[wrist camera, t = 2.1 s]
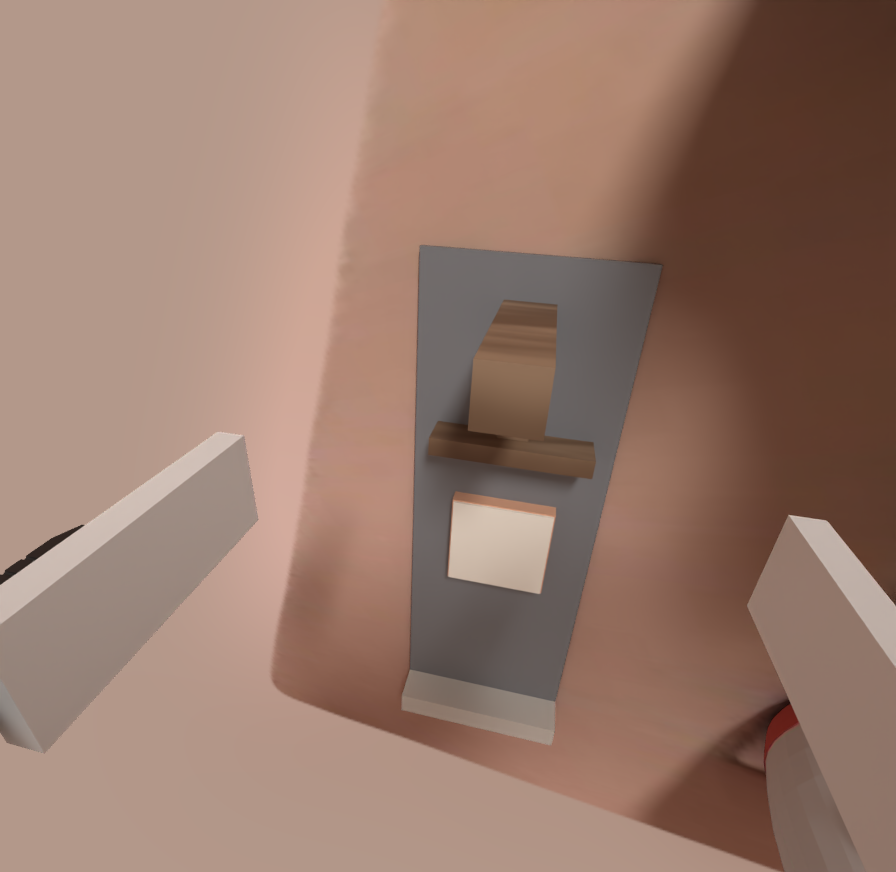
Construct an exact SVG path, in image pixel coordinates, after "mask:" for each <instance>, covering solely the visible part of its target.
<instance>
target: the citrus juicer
mask: <svg viewBox="0 0 896 872" xmlns="http://www.w3.org/2000/svg"><path fill="white" fill-rule="evenodd" d="M764 767H765V773H766V781H767V794H768V802H769V808H770V814H771V820H772V826H773V832H774V836H775V840H776V843H777V847H778V850H779V854H780V858H781V861H782V865H783V868H784V871H785V872H866V871H865V868H864V866H863V864H862V862H861V859H860V857H859V855H858V853H857V850H856V848H855V846H854V844H853V842H852V839H851V837H850V835H849V833H848V830H847V828H846V826H845V824H844V821H843V819H842V817H841V815H840V812H839V810H838V808H837V806H836V804H835V801H834V799H833V797H832V795H831V792H830V790H829V788H828V786H827V783H826V781H825V779H824V777H823V775H822V772H821V770H820V768H819V766H818V763H817V761H816V759H815V757H814V754H813V752H812V750H811V748H810V746H809V743H808V741H807V739H806V737H805V734H804V732H803V730H802V728H801V725H800V723H799V721H798V719H797V717H796V714H795V712H794V710H793V708H792V705H791V704H790V705H787V706H786V707H785V708H784V709H782V710H781V711H780V712H779V713H778V714H777V715H776V716H775V717H774V718H773V719H772V721H771V723H770V724H769V726H768V729H767V734H766V740H765V750H764Z"/></svg>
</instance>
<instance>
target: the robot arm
mask: <svg viewBox="0 0 896 872" xmlns="http://www.w3.org/2000/svg"><path fill="white" fill-rule="evenodd" d="M257 521H258V515H257V509H256V503H255V497H254V491H253V485H252V479H251V473H250V467H249V462H248V456H247V450H246V444H245V438H244V435H238V434H231V433H224V432H216V433H215V434H214V435H212V436H211V437H209V438H208V439H207V440H205V441H204V442H202V443H201V444H199V445H198V446H197V447H195V448H194V449H192V450H191V451H190V452H188V453H187V454H185V455H184V456H182V457H181V458H180V459H178V460H177V461H175V462H174V463H173V464H171V465H170V466H168V467H167V468H165V469H164V470H163V471H161V472H160V473H158V474H157V475H156V476H154V477H153V478H152V479H150V480H149V481H147V482H146V483H145V484H143V485H141V486H140V487H139V488H137V489H136V490H134V491H133V492H132V493H130V494H129V495H127V496H126V497H124V498H123V499H122V500H120V501H119V502H118V503H116V504H115V505H113V506H112V507H110V508H109V509H108V510H106V511H105V512H103V513H102V514H100V515H99V516H98V517H96V518H95V519H93V520H92V521H90V522H89V523H88V524H86V525H80V526H78V527H76V528H74V529H71V530H69V531H67V532H65V533H62V534H60V535H58V536H56V537H53V538H51V539H50V540H49V541H47V542H46V543H44V544H43V545H41V546H40V547H38V548H37V549H35V550H34V551H32V552H31V553H30V554H28V555H27V556H26V559H25V560H22V559H21V560H20V561H18V562H16V563H15V564H13V565H12V566H11V567H9V568H8V569H6V570H5V573H4V574H3V575H0V733H1V734H2V736H3V737H4V739H5V740H6V742H7V743H10V744H13V745H17V746H20V747H24V748H27V749H31V750H34V751H38V752H41V753H45V752H46V751H47V750H48V749H49V748H50V747H51V746H52V745H53V744H54V743H55V742H56V740H57V739H58V738H59V737H60V736H61V735H62V734H63V733H64V732H65V731H66V729H67V728H68V727H69V726H70V725H71V724H72V723H73V722H74V721H75V720H76V719H77V717H78V716H79V715H80V714H81V713H82V712H83V711H84V710H85V709H86V708H87V707H88V705H89V704H90V703H91V702H92V701H93V700H94V699H95V698H96V696H97V695H99V693H100V692H101V691H102V690H103V689H104V688H105V687H106V686H107V685H108V684H109V682H110V681H111V680H112V679H113V678H114V677H115V676H116V675H117V674H118V673H119V672H120V670H121V669H122V668H123V667H124V666H125V665H126V664H127V663H128V661H130V660H131V658H132V657H133V656H134V655H135V654H136V653H137V652H138V651H139V650H140V649H141V647H142V646H143V645H144V644H145V643H146V642H147V641H148V640H149V639H150V638H151V637H152V635H153V634H154V633H155V632H156V631H157V630H158V629H159V628H160V627H161V626H162V625H163V623H164V622H165V621H166V620H167V619H168V618H169V617H170V616H171V615H172V614H173V612H174V611H175V610H176V609H177V608H178V607H179V606H180V605H181V604H182V603H183V602H184V600H185V599H186V598H187V597H188V596H189V595H190V594H191V593H192V592H193V591H194V590H195V588H196V587H197V586H198V585H199V584H200V583H201V582H202V581H203V580H204V578H206V576H207V575H208V574H209V573H210V572H211V571H212V570H213V569H214V568H215V567H216V566H217V564H218V563H219V562H220V561H221V560H222V559H223V558H224V557H225V556H226V555H227V554H228V552H229V551H230V550H231V549H232V548H233V547H234V546H235V545H236V544H237V543H238V542H239V540H240V539H241V538H242V537H243V536H244V535H245V534H246V533H247V532H248V531H249V529H250V528H251V527H252V526H253V525H254V524H255V523H256V522H257ZM747 607H748V609H749V612H750V614H751V616H752V618H753V621H754V623H755V625H756V627H757V630H758V632H759V634H760V636H761V638H762V641H763V643H764V645H765V647H766V650H767V652H768V654H769V656H770V659H771V661H772V663H773V665H774V667H775V670H776V672H777V674H778V676H779V679H780V681H781V683H782V685H783V688H784V690H785V692H786V694H787V696H788V699H789V701H790V703H791V705H792V708H793V710H794V712H795V714H796V717H797V719H798V721H799V723H800V725H801V728H802V730H803V732H804V734H805V737H806V739H807V741H808V743H809V746H810V748H811V750H812V752H813V754H814V757H815V759H816V761H817V763H818V766H819V768H820V770H821V772H822V775H823V777H824V779H825V781H826V783H827V786H828V788H829V790H830V792H831V795H832V797H833V799H834V801H835V804H836V806H837V808H838V810H839V812H840V815H841V817H842V819H843V821H844V824H845V826H846V828H847V830H848V833H849V835H850V837H851V839H852V842H853V844H854V846H855V848H856V850H857V853H858V855H859V857H860V859H861V862H862V864H863V866H864V868H865V871H866V872H896V606H895V604H894V603H893V602H892V601H891V599H890V598H889V597H888V596H887V594H886V593H885V592H884V591H883V589H882V588H881V587H880V586H879V584H878V583H877V582H876V581H875V580H874V578H873V577H872V576H871V575H870V573H869V572H868V571H867V570H866V568H865V567H864V566H863V565H862V563H861V562H860V561H859V560H858V558H857V557H856V556H855V555H854V553H853V552H852V551H851V550H850V548H849V547H848V546H847V545H846V544H845V542H844V541H843V540H842V539H841V537H840V536H839V535H838V534H837V532H836V531H835V530H834V529H833V527H832V526H831V525H830V524H829V522H828V521H827V520H820V519H813V518H806V517H799V516H793V515H788V517H787V519H786V521H785V524H784V526H783V528H782V530H781V532H780V534H779V537H778V539H777V541H776V543H775V545H774V548H773V550H772V552H771V554H770V556H769V558H768V561H767V563H766V565H765V567H764V569H763V572H762V574H761V576H760V578H759V580H758V582H757V585H756V587H755V589H754V591H753V593H752V595H751V598H750V600H749V602H748V604H747Z"/></svg>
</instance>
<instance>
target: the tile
mask: <svg viewBox="0 0 896 872" xmlns="http://www.w3.org/2000/svg"><path fill="white" fill-rule="evenodd" d="M555 518H556V507H550V506H544V505H538V504H531V503H525V502H519V501H513V500H506V499H500V498H494V497H488V496H482V495H475V494H469V493H463V492H457V491H455V494H454V497H453V502H452V517H451V531H450V546H449V560H448V575H447V576H448V577H452V578H457V579H463V580H468V581H473V582H478V583H484V584H489V585H494V586H499V587H505V588H510V589H515V590H521V591H526V592H531V593H536V594H540V593H541V591H542V586H543V581H544V575H545V570H546V565H547V560H548V555H549V549H550V544H551V539H552V534H553V529H554V523H555Z"/></svg>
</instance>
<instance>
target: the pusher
mask: <svg viewBox="0 0 896 872" xmlns="http://www.w3.org/2000/svg"><path fill="white" fill-rule="evenodd" d="M556 337H557V304H546V303H536V302H525V301H515V300H503V302H502V304H501V306H500V308H499V310H498V312H497V314H496V316H495V318H494V320H493V322H492V324H491V326H490V327H489V329H488V331H487V333H486V335H485V337H484V339H483V341H482V343H481V345H480V347H479V349H478V351H477V353H476V355H475V357H474V358H473V371H472V383H471V396H470V408H469V421H468V425H464V424H457V423H450V422H443V421H438V422H437V423H436V425H435V427H434V429H433V431H432V433H431V435H430V437H429V447H428V455H433V456H440V457H446V458H453V459H460V460H466V461H473V462H480V463H486V464H493V465H500V466H506V467H513V468H519V469H526V470H533V471H539V472H546V473H553V474H559V475H566V476H573V477H579V478H586V479H592V478H593V473H594V469H595V464H596V458H595V450H594V443H593V442H587V441H580V440H573V439H566V438H558V437H551V436H545V430H546V424H547V418H548V412H549V405H550V399H551V393H552V387H553V381H554V375H555V369H556Z"/></svg>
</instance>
